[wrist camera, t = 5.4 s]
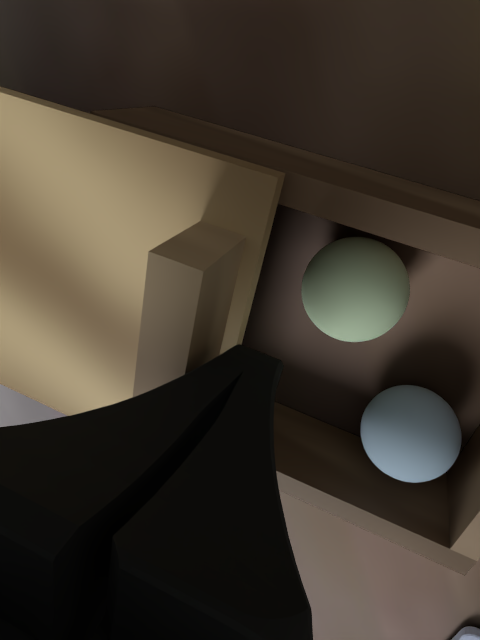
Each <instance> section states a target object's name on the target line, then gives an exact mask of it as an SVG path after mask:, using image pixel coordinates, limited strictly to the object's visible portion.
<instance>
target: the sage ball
mask: <svg viewBox="0 0 480 640" xmlns="http://www.w3.org/2000/svg"><path fill="white" fill-rule="evenodd" d="M301 291H302V300H303V304H304V307H305V310H306V312H307V314H308V316H309V318H310V319H311V321H312V322H313V323H314V324H315V325H316V326H317V327H318V328H319V329H320V330H321V331H322V332H324V333H325V334H327V335H329V336H331V337H333V338H335V339H338V340H341V341H347V342H362V341H368V340H371V339H374V338H377V337H379V336H381V335H383V334H385V333H386V332H387V331H389V330H390V329H391V328H392V327H393V326H394V325H396V323H397V322H398V321H399V320H400V318H401V317H402V315H403V313H404V312H405V309H406V307H407V304H408V300H409V295H410V284H409V277H408V273H407V270H406V268H405V266H404V264H403V262H402V261H401V259H400V258H399V257H398V255H397V254H396V253H395V252H394V251H393V250H392V249H390V248H389V247H388V246H386V245H385V244H383V243H381V242H379V241H376V240H374V239H370V238H365V237H348V238H343V239H339V240H337V241H334V242H332V243H330V244H328V245H327V246H325V247H324V248H322V249H321V250H320V251H319V252H318V253H317V254H316V255H315V256H314V257H313V258H312V260H311V261H310V263H309V264H308V266H307V268H306V271H305V273H304V276H303V280H302V289H301Z"/></svg>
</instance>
